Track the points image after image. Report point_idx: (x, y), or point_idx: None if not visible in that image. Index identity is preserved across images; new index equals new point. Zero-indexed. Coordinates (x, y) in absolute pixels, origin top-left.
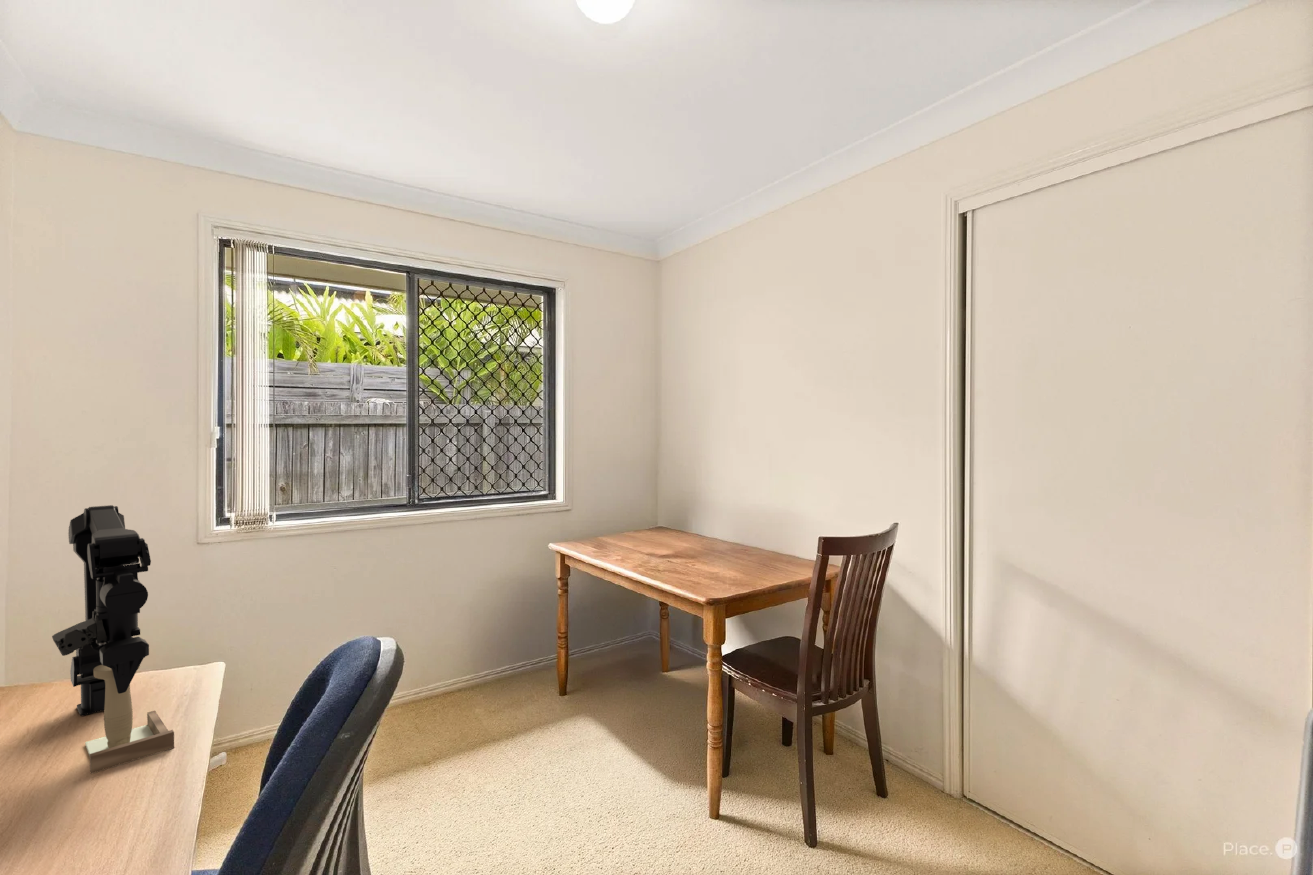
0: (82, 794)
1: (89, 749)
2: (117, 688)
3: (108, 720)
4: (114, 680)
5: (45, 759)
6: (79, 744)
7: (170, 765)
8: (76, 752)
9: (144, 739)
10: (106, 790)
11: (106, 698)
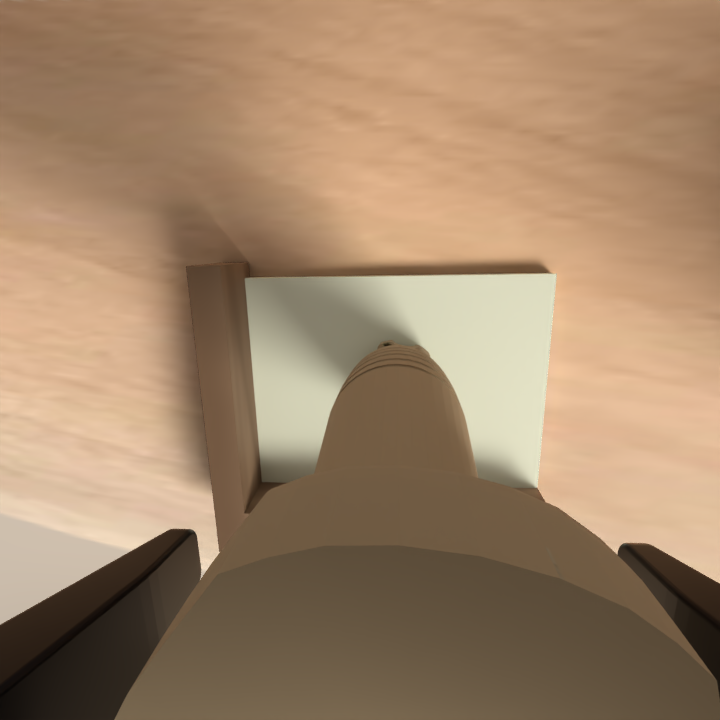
0: (56, 223)
1: (449, 279)
2: (120, 561)
3: (352, 378)
4: (64, 623)
5: (529, 122)
6: (586, 253)
7: (102, 472)
8: (497, 236)
9: (220, 458)
10: (37, 290)
11: (365, 429)
